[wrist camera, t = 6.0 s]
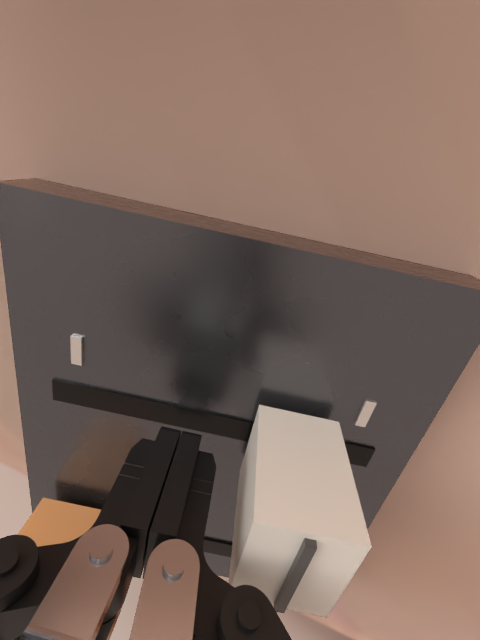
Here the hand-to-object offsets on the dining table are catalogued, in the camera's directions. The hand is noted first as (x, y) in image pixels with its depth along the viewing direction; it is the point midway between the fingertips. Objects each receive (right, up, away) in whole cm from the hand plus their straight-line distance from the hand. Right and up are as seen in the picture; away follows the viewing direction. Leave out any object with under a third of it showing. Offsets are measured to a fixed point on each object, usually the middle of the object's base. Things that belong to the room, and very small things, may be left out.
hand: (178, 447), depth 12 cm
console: (+1, 0, +4) cm, 4 cm away
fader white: (+4, 0, +1) cm, 4 cm away
